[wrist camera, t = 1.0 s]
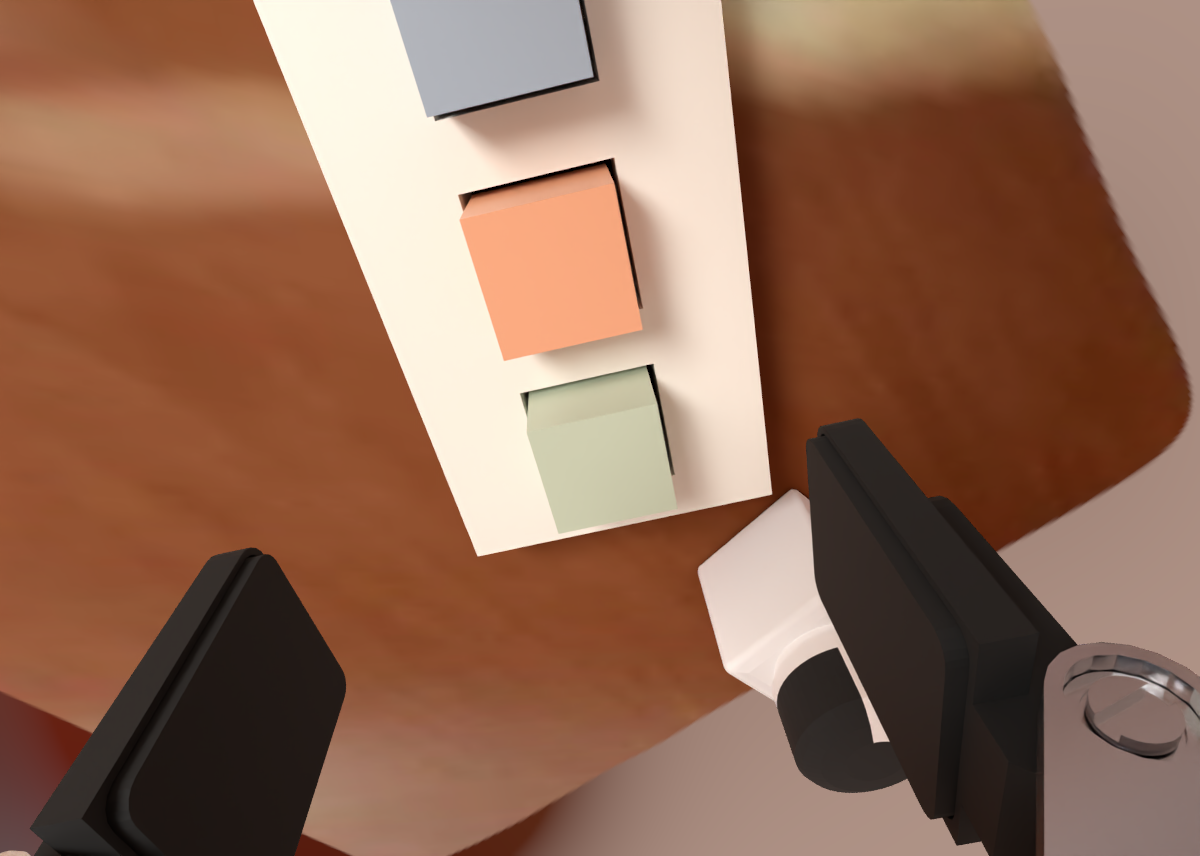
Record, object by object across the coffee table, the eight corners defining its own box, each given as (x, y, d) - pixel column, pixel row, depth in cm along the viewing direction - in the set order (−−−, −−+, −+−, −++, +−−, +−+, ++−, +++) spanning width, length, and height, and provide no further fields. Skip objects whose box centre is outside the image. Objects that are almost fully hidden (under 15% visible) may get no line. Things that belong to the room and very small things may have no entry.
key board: (239, -121, 21) (195, -145, 18) (674, -239, 20) (692, -280, 18) (483, 517, 34) (477, 556, 31) (755, 459, 33) (772, 494, 31)
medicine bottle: (778, 624, 39) (859, 833, 29) (693, 567, 37) (749, 773, 26) (874, 551, 37) (1001, 749, 27) (792, 483, 34) (896, 674, 24)
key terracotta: (472, 195, 25) (459, 219, 21) (605, 163, 24) (614, 183, 21) (509, 320, 27) (504, 361, 24) (630, 292, 27) (643, 329, 23)
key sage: (529, 385, 28) (526, 432, 25) (644, 359, 28) (657, 403, 25) (557, 479, 31) (558, 534, 28) (663, 456, 31) (677, 508, 27)
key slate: (392, -69, 21) (360, -92, 17) (551, -111, 20) (550, -143, 17) (445, 106, 23) (426, 117, 20) (587, 71, 23) (593, 76, 19)
